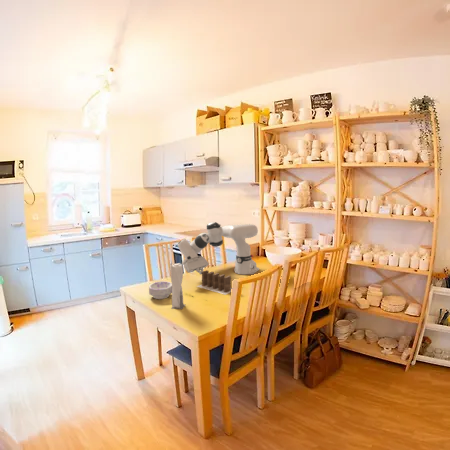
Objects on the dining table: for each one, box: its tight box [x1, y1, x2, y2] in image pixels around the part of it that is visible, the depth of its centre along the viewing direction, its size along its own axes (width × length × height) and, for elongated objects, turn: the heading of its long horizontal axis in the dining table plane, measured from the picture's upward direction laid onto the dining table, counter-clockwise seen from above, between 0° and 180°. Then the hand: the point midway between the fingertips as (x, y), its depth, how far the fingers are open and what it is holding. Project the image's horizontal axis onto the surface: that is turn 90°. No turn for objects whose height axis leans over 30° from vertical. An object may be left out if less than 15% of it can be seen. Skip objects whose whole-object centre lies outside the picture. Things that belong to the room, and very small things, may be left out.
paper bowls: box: [148, 280, 172, 300], centre depth 206 cm, size 15×15×8 cm
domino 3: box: [213, 272, 220, 289], centre depth 218 cm, size 2×5×10 cm, turn 141°
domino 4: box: [218, 274, 226, 291], centre depth 215 cm, size 2×5×10 cm, turn 141°
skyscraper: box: [169, 261, 187, 310], centre depth 189 cm, size 8×8×28 cm
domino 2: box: [207, 271, 215, 288], centre depth 221 cm, size 2×5×10 cm, turn 141°
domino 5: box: [224, 275, 232, 292], centre depth 211 cm, size 2×5×10 cm, turn 141°
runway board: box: [196, 283, 233, 296], centre depth 218 cm, size 12×26×1 cm, turn 51°
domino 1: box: [201, 269, 210, 286], centre depth 224 cm, size 2×5×10 cm, turn 141°
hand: (202, 273), depth 225 cm, fingers closed
